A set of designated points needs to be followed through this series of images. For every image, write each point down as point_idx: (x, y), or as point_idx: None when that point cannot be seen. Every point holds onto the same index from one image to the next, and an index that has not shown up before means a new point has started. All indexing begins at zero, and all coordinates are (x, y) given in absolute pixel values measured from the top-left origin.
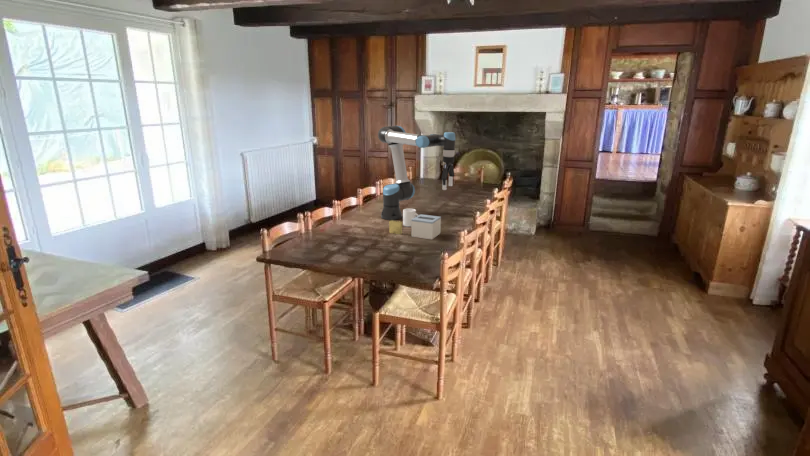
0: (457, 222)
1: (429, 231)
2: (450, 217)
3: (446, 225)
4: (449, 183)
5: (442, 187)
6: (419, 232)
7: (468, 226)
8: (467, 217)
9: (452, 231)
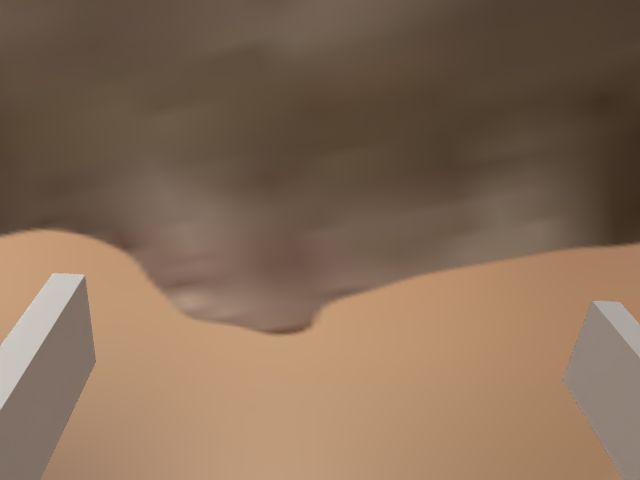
0: (383, 195)
1: None
2: (559, 88)
3: (242, 120)
4: (617, 364)
5: (28, 313)
6: None
7: (284, 303)
8: (580, 243)
9: (74, 216)
